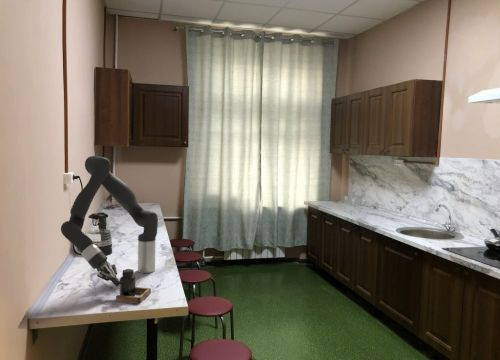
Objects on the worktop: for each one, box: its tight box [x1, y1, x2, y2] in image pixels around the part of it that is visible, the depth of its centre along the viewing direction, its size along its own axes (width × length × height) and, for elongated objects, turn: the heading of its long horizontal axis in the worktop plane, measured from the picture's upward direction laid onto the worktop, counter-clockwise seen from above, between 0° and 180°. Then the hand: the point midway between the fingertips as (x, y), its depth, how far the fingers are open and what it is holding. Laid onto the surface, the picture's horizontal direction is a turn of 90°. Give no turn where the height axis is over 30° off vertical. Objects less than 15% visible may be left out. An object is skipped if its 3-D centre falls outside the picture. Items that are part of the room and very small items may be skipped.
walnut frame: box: [115, 286, 152, 305], centre depth 174 cm, size 12×11×2 cm
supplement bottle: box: [119, 268, 137, 297], centre depth 174 cm, size 7×7×12 cm
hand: (118, 284), depth 174 cm, fingers closed
